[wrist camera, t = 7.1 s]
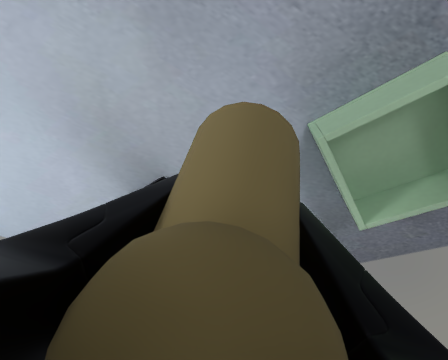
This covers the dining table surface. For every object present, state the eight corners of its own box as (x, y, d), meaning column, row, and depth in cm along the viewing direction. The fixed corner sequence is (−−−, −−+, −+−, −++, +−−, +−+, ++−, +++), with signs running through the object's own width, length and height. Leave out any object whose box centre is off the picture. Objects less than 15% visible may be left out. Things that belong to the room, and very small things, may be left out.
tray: (345, 204, 23) (359, 231, 19) (307, 124, 19) (315, 139, 16) (467, 163, 19) (512, 188, 15) (445, 51, 15) (498, 50, 12)
